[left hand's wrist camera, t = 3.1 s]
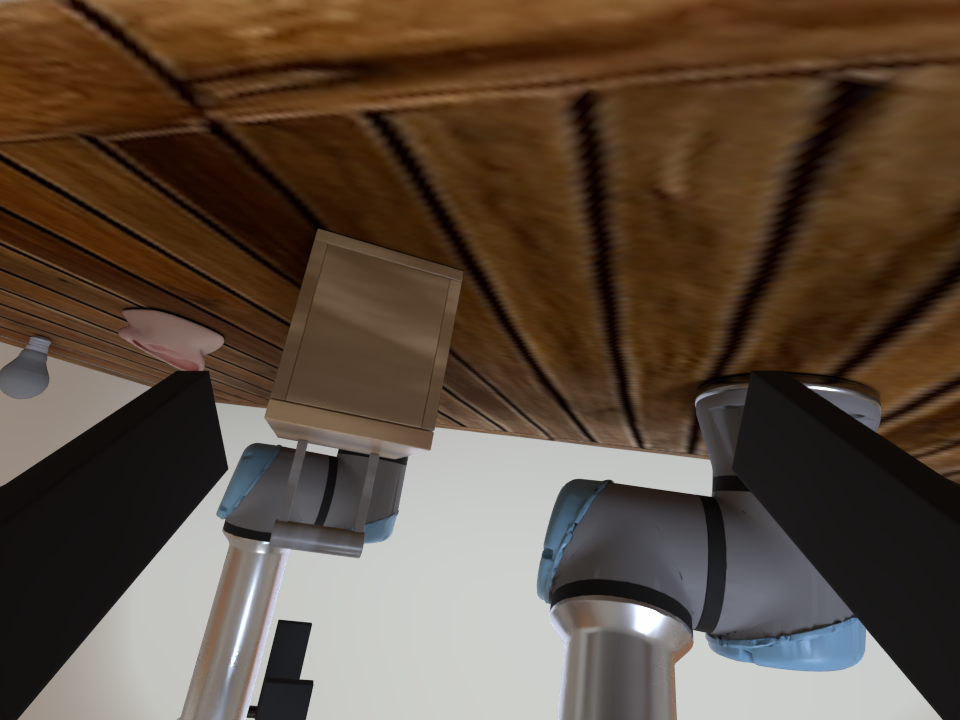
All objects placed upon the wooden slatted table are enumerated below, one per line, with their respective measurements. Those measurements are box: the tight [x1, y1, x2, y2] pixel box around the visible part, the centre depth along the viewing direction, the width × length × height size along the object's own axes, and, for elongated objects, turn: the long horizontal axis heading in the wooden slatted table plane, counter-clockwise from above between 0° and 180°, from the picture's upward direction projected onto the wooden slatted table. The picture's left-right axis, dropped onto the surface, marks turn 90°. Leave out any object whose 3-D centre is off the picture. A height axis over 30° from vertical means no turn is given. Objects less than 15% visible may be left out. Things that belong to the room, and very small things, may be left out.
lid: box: [265, 399, 433, 558], centre depth 35 cm, size 14×10×9 cm
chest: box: [270, 229, 464, 431], centre depth 38 cm, size 13×10×11 cm
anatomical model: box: [118, 309, 224, 371], centre depth 61 cm, size 13×4×12 cm
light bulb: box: [0, 336, 51, 399], centre depth 79 cm, size 6×6×10 cm
